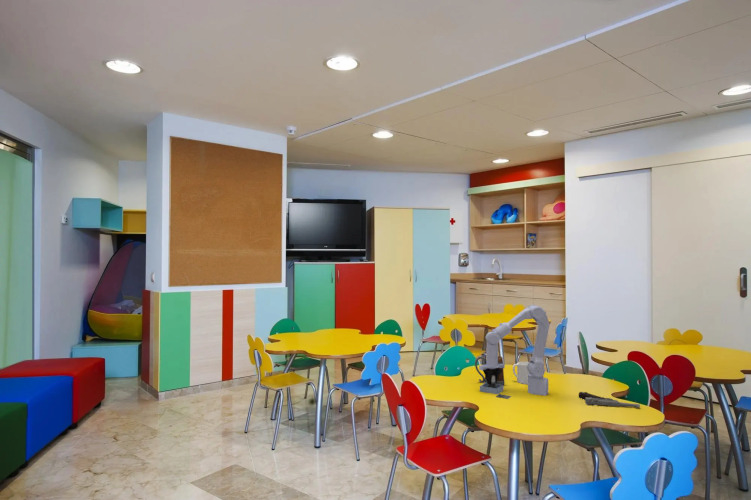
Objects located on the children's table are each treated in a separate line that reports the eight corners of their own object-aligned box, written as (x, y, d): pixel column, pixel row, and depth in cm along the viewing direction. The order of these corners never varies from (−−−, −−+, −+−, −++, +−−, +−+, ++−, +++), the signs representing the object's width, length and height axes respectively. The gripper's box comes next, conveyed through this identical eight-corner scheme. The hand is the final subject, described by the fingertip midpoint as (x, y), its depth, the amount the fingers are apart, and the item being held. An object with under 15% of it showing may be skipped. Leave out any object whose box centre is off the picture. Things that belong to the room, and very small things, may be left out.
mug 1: (502, 382, 250) (502, 355, 250) (506, 387, 239) (506, 359, 240) (473, 381, 251) (474, 354, 252) (475, 386, 241) (476, 357, 241)
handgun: (630, 402, 221) (641, 411, 206) (577, 397, 226) (584, 405, 212) (630, 395, 221) (641, 403, 206) (577, 390, 227) (584, 398, 212)
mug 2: (533, 380, 257) (533, 362, 257) (538, 385, 247) (538, 365, 247) (510, 379, 257) (510, 361, 258) (515, 384, 247) (515, 365, 248)
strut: (492, 386, 232) (493, 374, 232) (497, 388, 228) (497, 375, 228) (486, 386, 230) (486, 374, 230) (491, 388, 227) (491, 376, 227)
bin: (503, 392, 231) (503, 385, 231) (498, 396, 223) (498, 389, 223) (485, 389, 236) (485, 382, 236) (479, 393, 228) (479, 386, 228)
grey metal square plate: (511, 398, 220) (511, 396, 220) (508, 401, 215) (508, 399, 215) (499, 396, 223) (499, 394, 223) (495, 399, 218) (495, 396, 218)
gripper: (485, 358, 223) (485, 386, 223) (508, 356, 230) (508, 384, 229) (476, 356, 230) (476, 383, 229) (499, 354, 236) (499, 380, 235)
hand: (491, 383), depth 229 cm, fingers closed on strut, 3 cm apart
